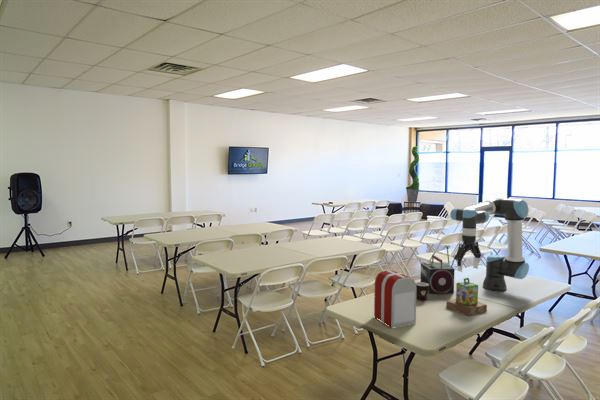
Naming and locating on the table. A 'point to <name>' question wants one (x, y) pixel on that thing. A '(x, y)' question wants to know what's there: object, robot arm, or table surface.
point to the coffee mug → (421, 291)
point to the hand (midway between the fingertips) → (467, 269)
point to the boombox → (438, 276)
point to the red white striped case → (395, 298)
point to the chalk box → (466, 292)
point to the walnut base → (466, 307)
